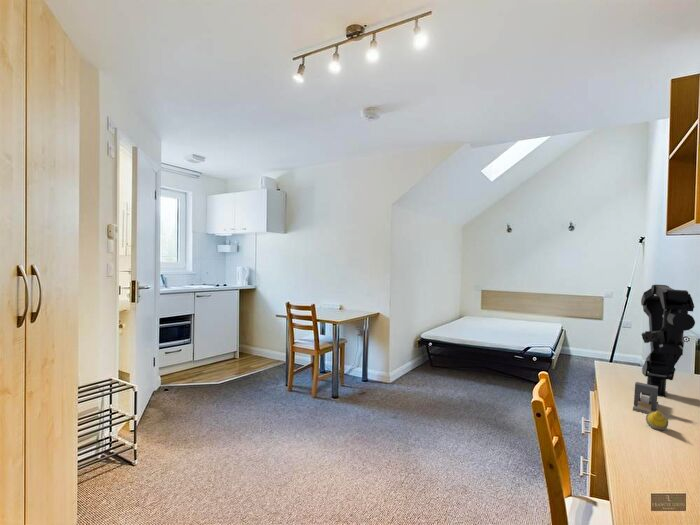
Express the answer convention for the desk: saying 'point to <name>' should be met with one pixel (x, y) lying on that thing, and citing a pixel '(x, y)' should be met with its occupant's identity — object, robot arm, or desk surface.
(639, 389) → the collar
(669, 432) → the desk surface
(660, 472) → the desk surface
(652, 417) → the yellow cone
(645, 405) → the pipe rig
